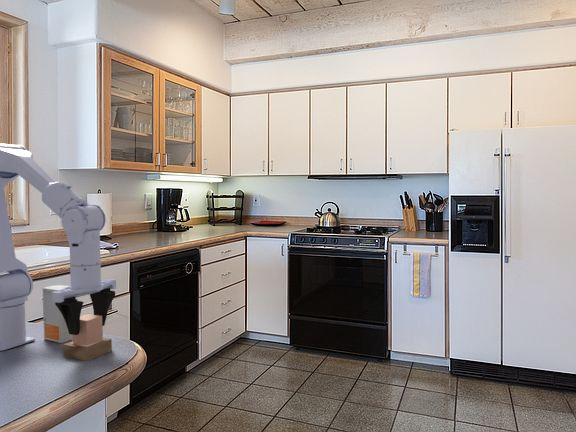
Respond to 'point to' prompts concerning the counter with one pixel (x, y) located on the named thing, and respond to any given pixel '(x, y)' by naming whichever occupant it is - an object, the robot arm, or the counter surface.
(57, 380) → the counter surface
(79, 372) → the counter surface
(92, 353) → the walnut foundation
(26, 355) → the counter surface
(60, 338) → the skincare box
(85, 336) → the terracotta block
